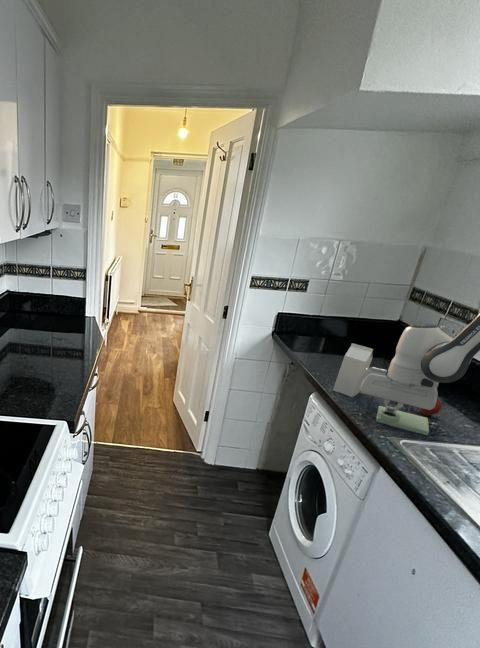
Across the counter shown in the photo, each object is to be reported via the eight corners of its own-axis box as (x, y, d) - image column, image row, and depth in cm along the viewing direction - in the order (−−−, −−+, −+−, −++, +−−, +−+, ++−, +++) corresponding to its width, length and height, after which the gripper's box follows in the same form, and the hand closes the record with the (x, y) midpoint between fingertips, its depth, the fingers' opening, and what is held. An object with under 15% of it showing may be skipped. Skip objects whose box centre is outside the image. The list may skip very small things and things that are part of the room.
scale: (426, 421, 139) (429, 413, 137) (427, 436, 129) (431, 427, 128) (377, 409, 146) (380, 401, 145) (375, 422, 136) (378, 414, 135)
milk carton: (351, 399, 153) (369, 351, 145) (332, 391, 158) (348, 345, 150) (358, 394, 157) (376, 347, 149) (339, 387, 162) (355, 341, 154)
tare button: (393, 417, 137) (395, 412, 136) (393, 420, 135) (395, 415, 134) (383, 414, 138) (384, 409, 138) (382, 417, 136) (384, 412, 135)
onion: (415, 409, 147) (424, 389, 143) (435, 414, 144) (445, 394, 141) (415, 415, 143) (425, 394, 139) (436, 421, 140) (446, 400, 136)
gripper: (365, 368, 133) (352, 406, 139) (445, 385, 123) (427, 426, 128) (367, 362, 138) (354, 400, 143) (443, 379, 127) (426, 418, 133)
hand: (389, 412), depth 136 cm, fingers closed, pressing on tare button
